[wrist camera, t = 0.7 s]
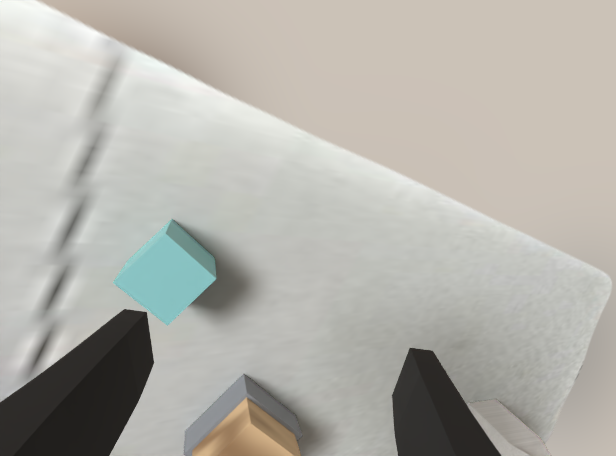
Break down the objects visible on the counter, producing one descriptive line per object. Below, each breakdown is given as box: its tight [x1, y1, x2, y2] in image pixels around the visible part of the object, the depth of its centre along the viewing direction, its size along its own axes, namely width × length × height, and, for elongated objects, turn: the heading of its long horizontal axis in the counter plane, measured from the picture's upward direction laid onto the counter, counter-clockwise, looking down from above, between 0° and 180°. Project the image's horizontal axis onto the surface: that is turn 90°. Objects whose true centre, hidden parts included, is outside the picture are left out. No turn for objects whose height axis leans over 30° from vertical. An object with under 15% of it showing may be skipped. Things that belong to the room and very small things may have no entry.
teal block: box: [113, 219, 216, 325], centre depth 27 cm, size 4×4×5 cm
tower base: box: [184, 374, 303, 456], centre depth 32 cm, size 7×7×3 cm
